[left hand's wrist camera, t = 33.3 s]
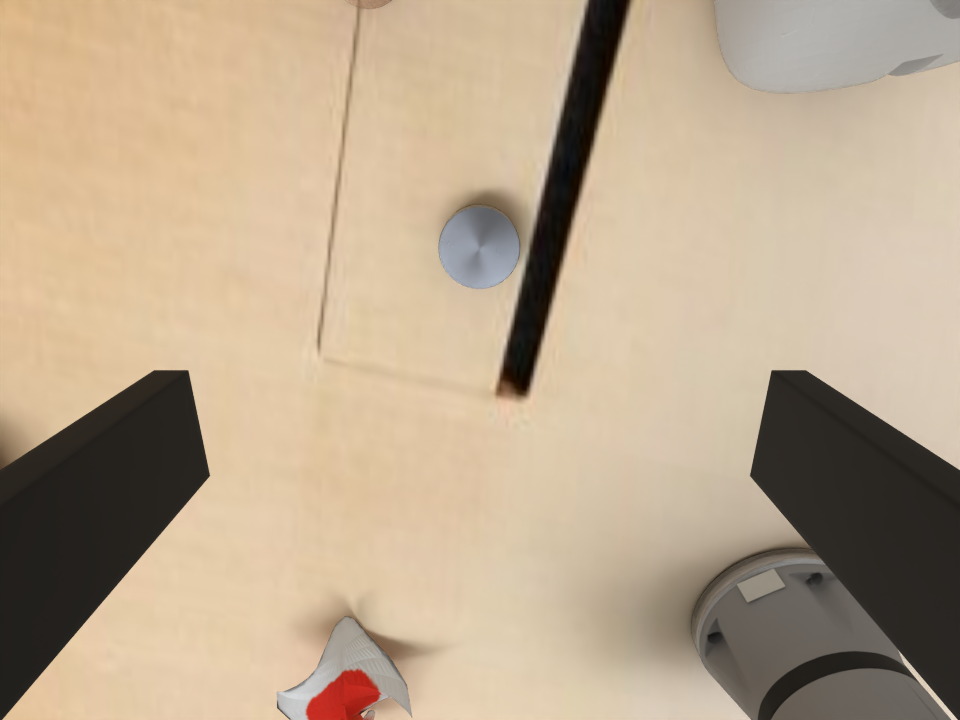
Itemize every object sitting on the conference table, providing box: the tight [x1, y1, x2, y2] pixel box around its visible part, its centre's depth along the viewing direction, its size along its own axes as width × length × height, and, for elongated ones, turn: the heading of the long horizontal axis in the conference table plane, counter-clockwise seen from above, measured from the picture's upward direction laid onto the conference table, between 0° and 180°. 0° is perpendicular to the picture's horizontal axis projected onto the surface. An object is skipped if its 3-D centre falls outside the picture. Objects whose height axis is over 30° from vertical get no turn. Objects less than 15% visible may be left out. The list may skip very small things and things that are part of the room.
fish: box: [277, 616, 412, 720], centre depth 46 cm, size 11×16×10 cm
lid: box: [439, 204, 520, 289], centre depth 36 cm, size 5×5×2 cm
